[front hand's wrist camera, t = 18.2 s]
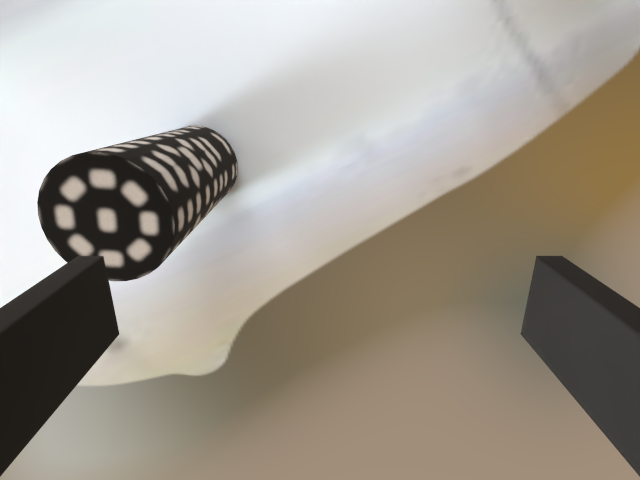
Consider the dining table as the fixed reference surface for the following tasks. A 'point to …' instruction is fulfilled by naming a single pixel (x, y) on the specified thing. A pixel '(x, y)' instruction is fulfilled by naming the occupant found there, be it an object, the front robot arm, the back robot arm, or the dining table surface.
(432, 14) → the dining table surface
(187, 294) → the dining table surface
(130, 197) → the polka dot cylinder
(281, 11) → the dining table surface
